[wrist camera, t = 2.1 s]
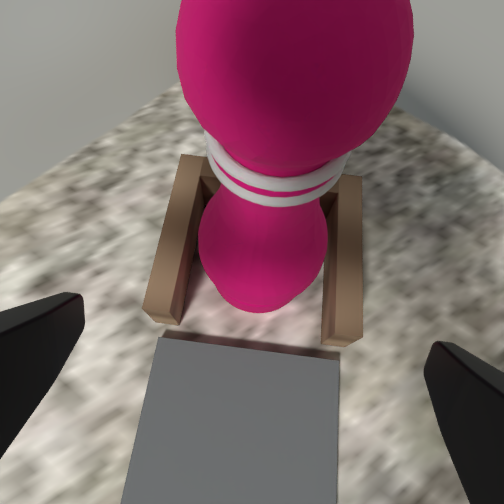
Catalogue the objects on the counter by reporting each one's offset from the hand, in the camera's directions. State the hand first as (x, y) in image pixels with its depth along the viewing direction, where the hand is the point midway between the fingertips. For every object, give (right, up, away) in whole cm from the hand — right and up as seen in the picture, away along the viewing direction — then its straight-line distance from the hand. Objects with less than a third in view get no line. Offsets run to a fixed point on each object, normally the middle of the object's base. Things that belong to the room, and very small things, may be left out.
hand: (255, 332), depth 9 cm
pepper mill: (0, +1, +15) cm, 15 cm away
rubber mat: (-1, -9, +10) cm, 14 cm away
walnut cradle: (0, +1, +15) cm, 15 cm away
